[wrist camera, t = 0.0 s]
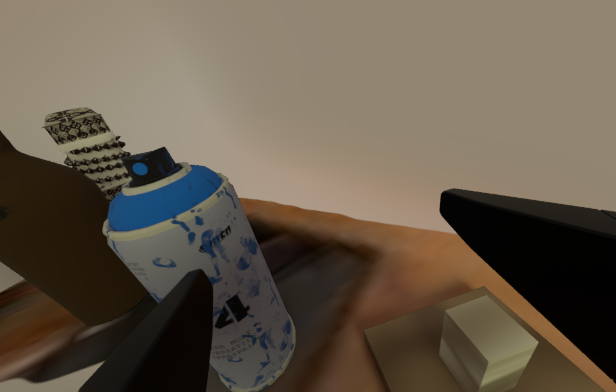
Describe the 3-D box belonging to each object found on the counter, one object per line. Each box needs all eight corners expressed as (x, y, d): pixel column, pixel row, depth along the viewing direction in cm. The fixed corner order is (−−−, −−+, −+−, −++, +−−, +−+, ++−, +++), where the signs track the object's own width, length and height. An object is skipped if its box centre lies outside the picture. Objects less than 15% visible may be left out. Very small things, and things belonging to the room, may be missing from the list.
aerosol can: (211, 409, 18) (-7, 205, 8) (223, 320, 25) (111, 152, 15) (303, 375, 19) (196, 151, 9) (290, 297, 26) (222, 123, 16)
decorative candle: (180, 213, 52) (113, 101, 40) (153, 240, 44) (59, 109, 32) (147, 218, 53) (73, 112, 41) (115, 245, 45) (12, 122, 33)
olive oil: (175, 276, 33) (46, 99, 21) (91, 346, 26) (-180, 134, 14) (144, 259, 39) (29, 112, 27) (68, 312, 31) (-137, 141, 19)
